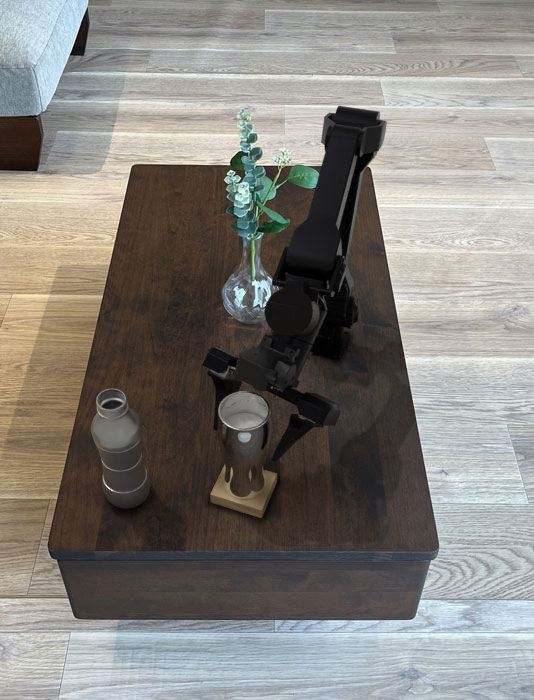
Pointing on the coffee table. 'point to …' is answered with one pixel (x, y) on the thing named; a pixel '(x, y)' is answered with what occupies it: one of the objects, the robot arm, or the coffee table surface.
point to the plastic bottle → (120, 450)
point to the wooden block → (247, 506)
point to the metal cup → (244, 442)
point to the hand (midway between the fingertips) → (244, 445)
